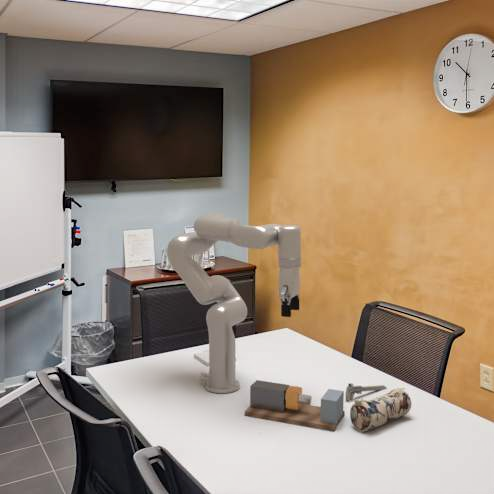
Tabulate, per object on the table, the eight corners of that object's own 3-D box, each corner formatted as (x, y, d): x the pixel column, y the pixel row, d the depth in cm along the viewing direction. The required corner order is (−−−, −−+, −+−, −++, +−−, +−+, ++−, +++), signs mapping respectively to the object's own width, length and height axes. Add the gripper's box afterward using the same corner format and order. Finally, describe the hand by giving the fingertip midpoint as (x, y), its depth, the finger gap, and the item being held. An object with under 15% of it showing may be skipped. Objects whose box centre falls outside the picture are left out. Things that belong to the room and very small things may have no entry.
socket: (320, 421, 196) (320, 398, 195) (328, 410, 204) (328, 388, 203) (336, 424, 194) (336, 401, 193) (343, 413, 202) (343, 391, 201)
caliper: (347, 402, 215) (348, 384, 214) (345, 401, 216) (345, 384, 215) (387, 388, 228) (387, 372, 227) (384, 387, 229) (385, 371, 228)
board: (244, 415, 204) (244, 411, 204) (259, 401, 216) (259, 396, 215) (334, 431, 192) (334, 426, 192) (344, 415, 204) (344, 410, 204)
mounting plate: (238, 364, 254) (238, 359, 254) (210, 369, 248) (210, 364, 248) (218, 351, 270) (218, 347, 269) (191, 356, 263) (191, 352, 263)
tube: (254, 402, 207) (254, 385, 206) (259, 398, 211) (259, 381, 210) (308, 411, 200) (308, 393, 199) (312, 406, 204) (312, 389, 203)
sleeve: (250, 407, 207) (250, 386, 206) (256, 400, 212) (256, 380, 211) (283, 413, 202) (283, 391, 201) (289, 406, 208) (289, 385, 206)
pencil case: (368, 436, 189) (369, 406, 188) (347, 427, 196) (348, 397, 194) (413, 417, 203) (414, 389, 201) (392, 409, 209) (393, 381, 208)
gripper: (286, 258, 216) (287, 306, 218) (270, 266, 200) (271, 318, 202) (307, 259, 213) (308, 307, 216) (293, 267, 197) (293, 320, 200)
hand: (290, 313), depth 209 cm, fingers open, 9 cm apart
